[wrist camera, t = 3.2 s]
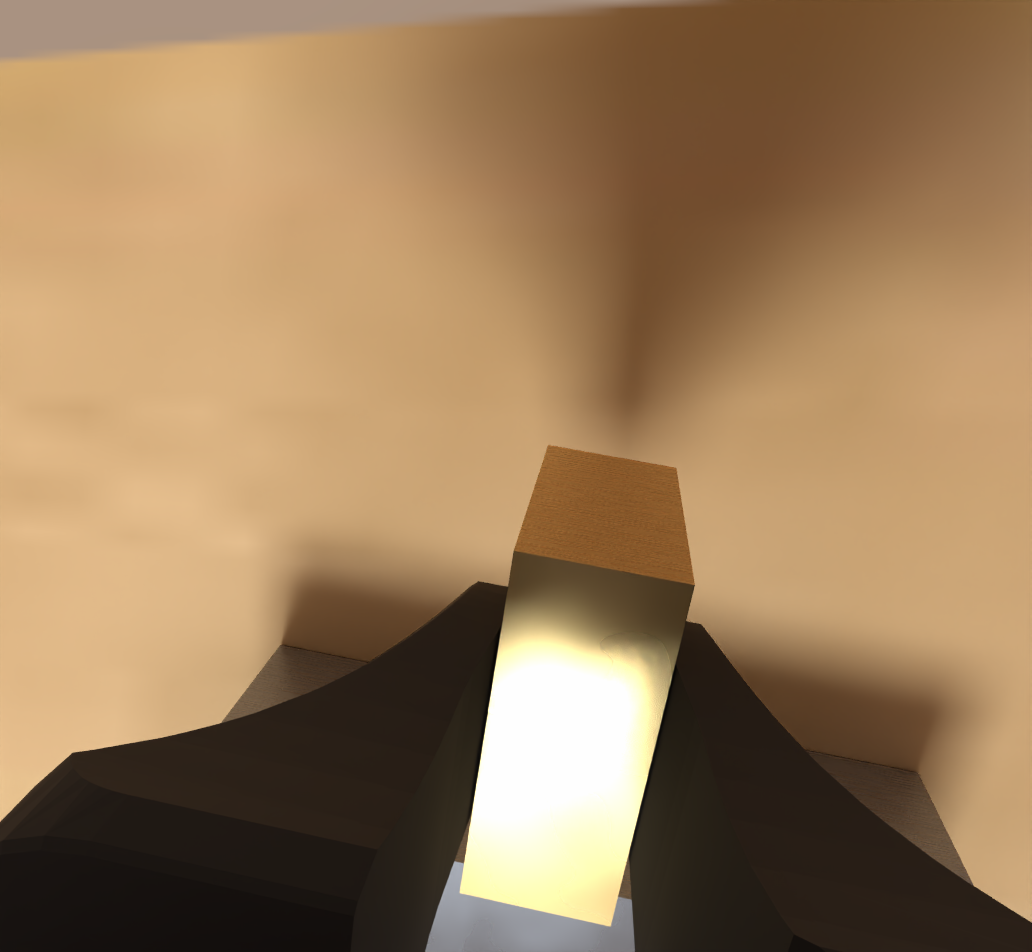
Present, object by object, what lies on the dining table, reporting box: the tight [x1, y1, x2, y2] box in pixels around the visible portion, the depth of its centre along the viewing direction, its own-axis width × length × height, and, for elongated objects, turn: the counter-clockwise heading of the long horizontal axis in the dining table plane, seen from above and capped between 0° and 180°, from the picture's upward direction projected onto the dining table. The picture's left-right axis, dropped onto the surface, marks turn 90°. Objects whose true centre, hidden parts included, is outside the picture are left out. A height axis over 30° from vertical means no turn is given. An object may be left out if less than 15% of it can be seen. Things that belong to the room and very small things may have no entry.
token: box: [460, 445, 695, 927], centre depth 12 cm, size 2×5×4 cm, turn 172°
